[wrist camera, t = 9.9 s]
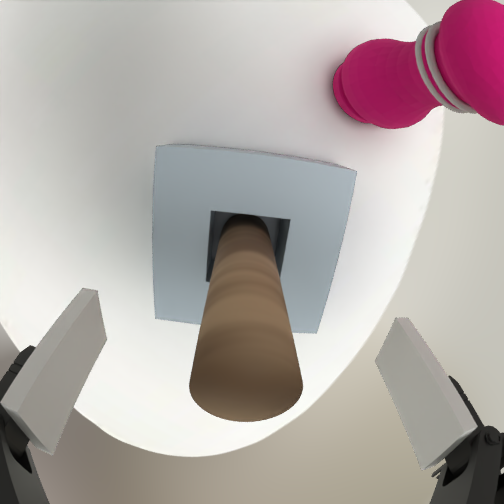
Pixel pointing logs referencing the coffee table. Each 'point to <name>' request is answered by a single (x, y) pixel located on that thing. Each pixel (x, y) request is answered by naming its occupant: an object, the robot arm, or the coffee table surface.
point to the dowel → (245, 331)
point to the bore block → (253, 203)
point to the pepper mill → (429, 70)
